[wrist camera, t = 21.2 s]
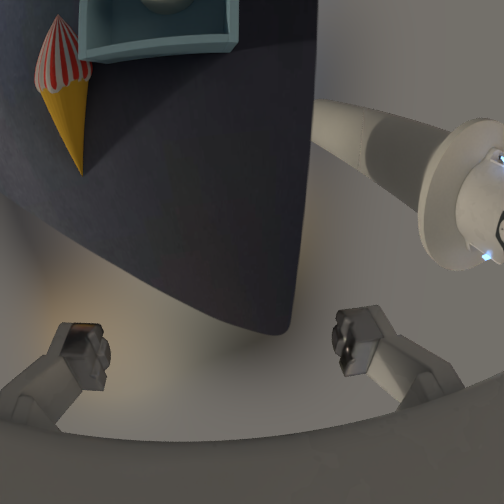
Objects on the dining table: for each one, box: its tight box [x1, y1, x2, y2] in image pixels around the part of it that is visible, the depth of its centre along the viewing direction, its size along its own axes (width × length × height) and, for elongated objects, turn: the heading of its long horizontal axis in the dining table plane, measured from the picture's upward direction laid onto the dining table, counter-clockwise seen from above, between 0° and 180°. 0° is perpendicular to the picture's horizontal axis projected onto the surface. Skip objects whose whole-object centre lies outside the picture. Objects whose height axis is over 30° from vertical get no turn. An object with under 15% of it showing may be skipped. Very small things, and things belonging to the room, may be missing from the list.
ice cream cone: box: [35, 15, 93, 177], centre depth 27 cm, size 6×6×20 cm
